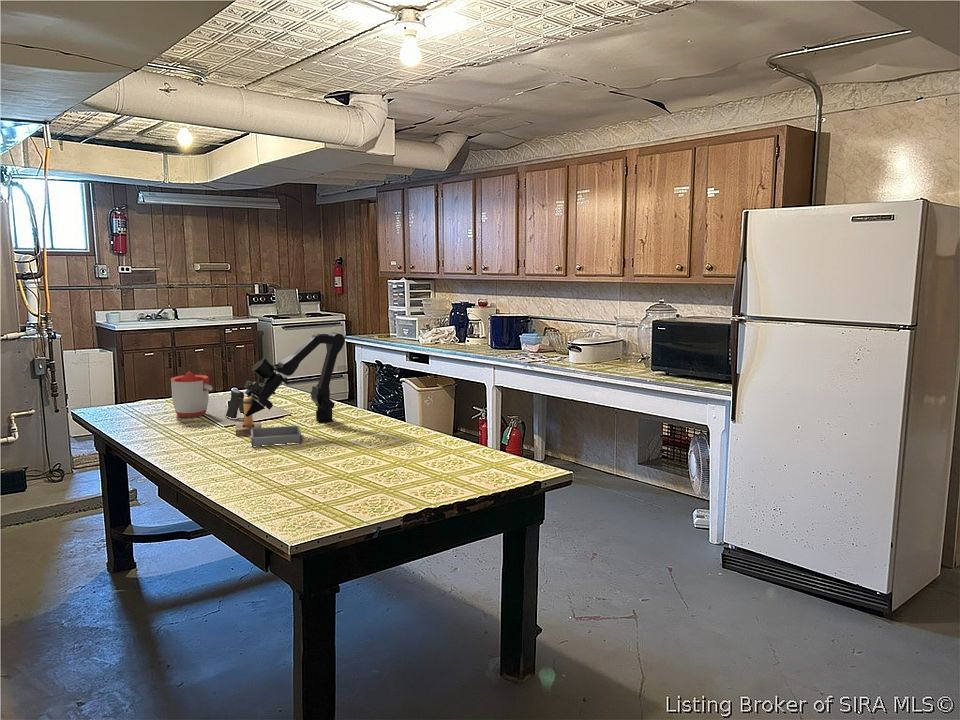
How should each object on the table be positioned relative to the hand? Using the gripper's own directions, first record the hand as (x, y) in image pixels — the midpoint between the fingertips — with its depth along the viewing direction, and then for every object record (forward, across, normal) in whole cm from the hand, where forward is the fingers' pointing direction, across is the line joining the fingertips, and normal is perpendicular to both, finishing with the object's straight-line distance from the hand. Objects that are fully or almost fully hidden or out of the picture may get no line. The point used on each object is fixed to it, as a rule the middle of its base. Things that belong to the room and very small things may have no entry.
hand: (244, 415), depth 282 cm
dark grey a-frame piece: (+2, -26, +9) cm, 28 cm away
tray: (+1, +18, +10) cm, 21 cm away
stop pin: (+4, 0, +6) cm, 7 cm away
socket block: (+4, 0, +6) cm, 7 cm away
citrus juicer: (+13, -40, -2) cm, 42 cm away
